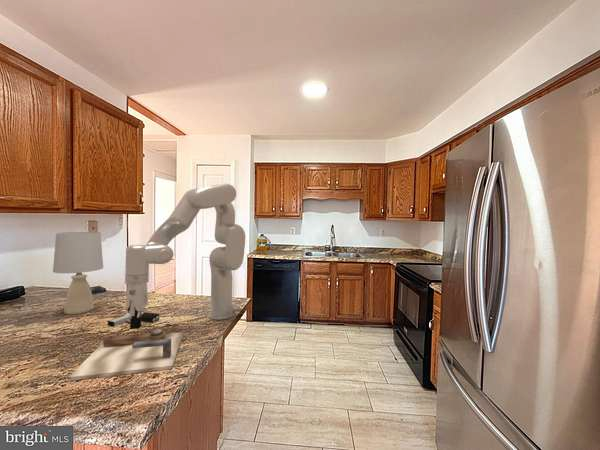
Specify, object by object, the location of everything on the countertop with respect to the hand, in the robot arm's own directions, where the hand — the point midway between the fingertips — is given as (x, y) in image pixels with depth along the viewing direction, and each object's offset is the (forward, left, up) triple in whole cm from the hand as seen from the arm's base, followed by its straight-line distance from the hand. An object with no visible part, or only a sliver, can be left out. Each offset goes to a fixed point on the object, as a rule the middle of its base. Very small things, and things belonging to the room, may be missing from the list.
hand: (135, 328), depth 103 cm
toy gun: (+5, -17, -5) cm, 19 cm away
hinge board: (-4, +13, -4) cm, 14 cm away
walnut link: (-2, +6, -2) cm, 7 cm away
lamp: (+34, -40, -4) cm, 53 cm away
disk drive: (+44, -74, -5) cm, 86 cm away
